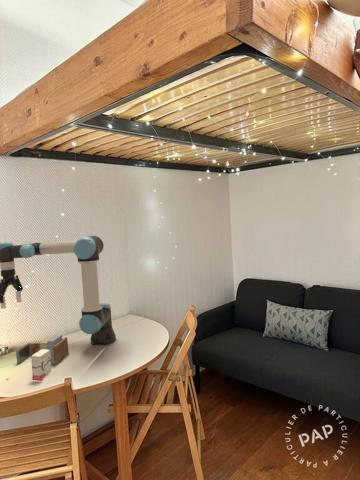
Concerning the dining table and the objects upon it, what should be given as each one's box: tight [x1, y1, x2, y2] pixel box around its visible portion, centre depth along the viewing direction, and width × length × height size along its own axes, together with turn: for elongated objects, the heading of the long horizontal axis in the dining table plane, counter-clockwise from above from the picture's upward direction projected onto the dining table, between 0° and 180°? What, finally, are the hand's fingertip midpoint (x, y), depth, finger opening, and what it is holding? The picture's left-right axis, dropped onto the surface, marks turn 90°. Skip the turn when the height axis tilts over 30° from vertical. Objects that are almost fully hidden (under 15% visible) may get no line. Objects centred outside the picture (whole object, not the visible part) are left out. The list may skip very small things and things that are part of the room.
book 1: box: [39, 336, 53, 350], centre depth 175 cm, size 4×8×11 cm, turn 173°
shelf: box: [27, 336, 70, 366], centre depth 176 cm, size 23×13×11 cm, turn 83°
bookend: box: [15, 343, 31, 365], centre depth 177 cm, size 2×9×7 cm, turn 173°
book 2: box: [47, 334, 63, 365], centre depth 174 cm, size 4×9×12 cm, turn 173°
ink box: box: [30, 349, 52, 382], centre depth 159 cm, size 9×5×12 cm, turn 168°
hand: (11, 305), depth 192 cm, fingers open, 13 cm apart
